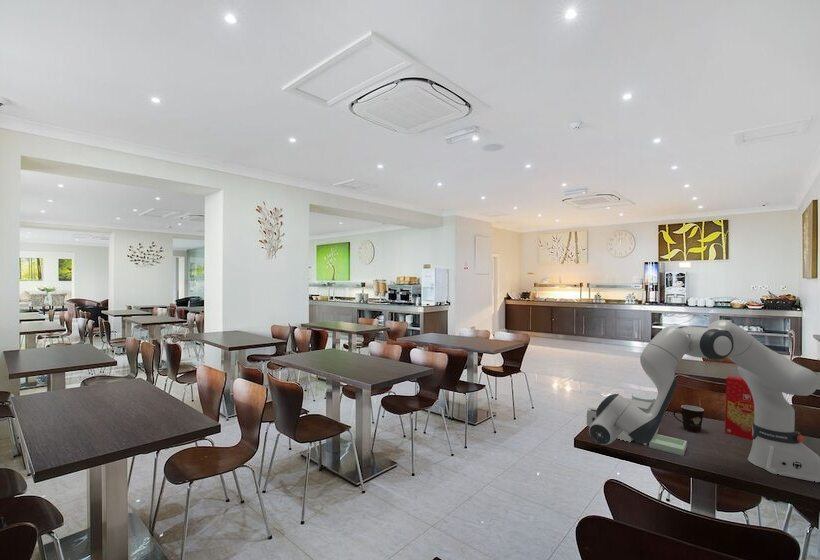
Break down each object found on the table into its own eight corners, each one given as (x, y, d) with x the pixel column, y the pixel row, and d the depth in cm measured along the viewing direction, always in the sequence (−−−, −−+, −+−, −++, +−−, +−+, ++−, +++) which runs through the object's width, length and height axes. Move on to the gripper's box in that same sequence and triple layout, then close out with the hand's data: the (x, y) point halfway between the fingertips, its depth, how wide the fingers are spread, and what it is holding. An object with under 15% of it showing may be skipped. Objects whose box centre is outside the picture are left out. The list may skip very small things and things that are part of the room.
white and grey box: (634, 437, 173) (635, 409, 173) (630, 443, 167) (631, 414, 167) (621, 434, 176) (622, 407, 176) (617, 439, 170) (617, 411, 170)
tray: (686, 447, 164) (686, 440, 164) (683, 456, 155) (683, 449, 155) (653, 439, 172) (654, 433, 172) (649, 447, 163) (649, 441, 163)
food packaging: (725, 433, 181) (726, 377, 181) (727, 430, 184) (729, 376, 184) (768, 444, 170) (770, 384, 169) (770, 441, 173) (772, 382, 173)
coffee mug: (702, 429, 185) (703, 407, 185) (704, 435, 178) (704, 412, 178) (672, 423, 192) (673, 402, 192) (672, 429, 184) (673, 407, 184)
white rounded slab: (636, 422, 192) (636, 392, 192) (658, 428, 184) (659, 396, 184) (627, 427, 186) (628, 395, 186) (649, 433, 178) (650, 400, 178)
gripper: (642, 422, 145) (649, 413, 156) (583, 408, 158) (593, 401, 169) (641, 439, 145) (648, 429, 156) (582, 424, 158) (592, 416, 169)
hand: (619, 414), depth 162 cm, fingers open, 8 cm apart
